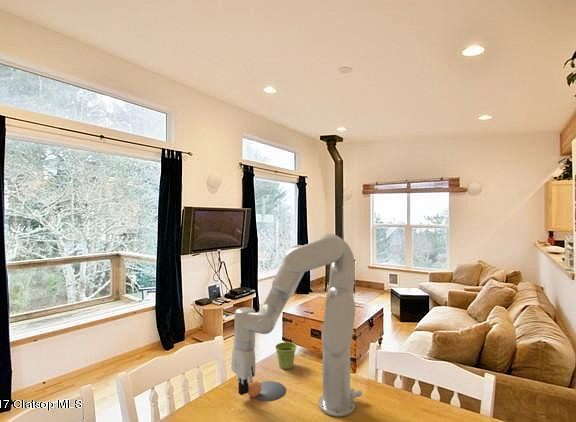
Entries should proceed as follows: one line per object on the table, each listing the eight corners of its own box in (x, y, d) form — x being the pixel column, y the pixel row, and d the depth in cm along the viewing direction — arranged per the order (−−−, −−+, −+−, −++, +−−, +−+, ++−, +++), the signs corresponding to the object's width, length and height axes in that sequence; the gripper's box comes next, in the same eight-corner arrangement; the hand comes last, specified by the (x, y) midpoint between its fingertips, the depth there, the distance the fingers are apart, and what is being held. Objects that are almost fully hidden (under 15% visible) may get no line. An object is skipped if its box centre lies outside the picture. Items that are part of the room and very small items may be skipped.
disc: (277, 378, 135) (277, 378, 135) (291, 395, 123) (291, 394, 123) (246, 386, 130) (246, 385, 130) (258, 404, 118) (258, 403, 118)
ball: (247, 398, 124) (259, 390, 127) (254, 401, 119) (266, 391, 123) (241, 384, 124) (253, 376, 128) (247, 386, 120) (260, 377, 123)
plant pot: (270, 367, 145) (270, 347, 145) (283, 359, 153) (283, 340, 152) (288, 373, 139) (288, 352, 139) (300, 364, 147) (300, 345, 147)
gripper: (225, 338, 124) (224, 386, 125) (245, 353, 112) (244, 407, 113) (243, 334, 129) (242, 381, 129) (264, 348, 117) (263, 399, 117)
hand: (243, 393), depth 121 cm, fingers closed
